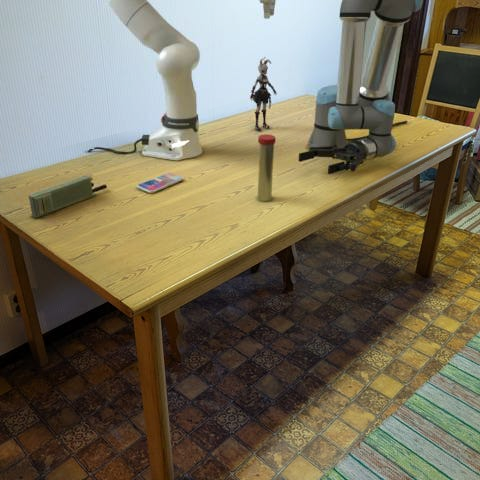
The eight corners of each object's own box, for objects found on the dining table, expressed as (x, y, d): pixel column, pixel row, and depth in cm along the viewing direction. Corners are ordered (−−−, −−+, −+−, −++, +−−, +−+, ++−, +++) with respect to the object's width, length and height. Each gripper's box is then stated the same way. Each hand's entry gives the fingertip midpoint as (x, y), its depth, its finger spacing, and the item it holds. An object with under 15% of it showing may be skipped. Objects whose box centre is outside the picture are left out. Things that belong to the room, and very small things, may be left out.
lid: (255, 140, 148) (256, 135, 148) (271, 139, 150) (272, 133, 149) (261, 145, 144) (261, 140, 143) (277, 144, 146) (278, 138, 145)
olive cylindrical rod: (255, 196, 157) (257, 136, 148) (268, 195, 158) (271, 135, 149) (260, 202, 153) (262, 141, 144) (273, 200, 155) (276, 140, 145)
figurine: (253, 133, 212) (255, 58, 197) (243, 130, 216) (244, 56, 201) (277, 126, 221) (281, 54, 206) (267, 123, 224) (270, 52, 210)
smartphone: (184, 177, 167) (150, 191, 157) (184, 180, 167) (151, 194, 157) (168, 171, 171) (134, 185, 161) (168, 174, 171) (135, 188, 161)
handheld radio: (30, 215, 144) (102, 188, 161) (37, 219, 142) (109, 191, 159) (26, 193, 140) (100, 168, 157) (33, 197, 138) (107, 171, 155)
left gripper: (265, -33, 165) (264, 13, 172) (255, -32, 148) (254, 20, 155) (284, -33, 164) (282, 14, 171) (276, -31, 147) (274, 20, 154)
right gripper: (386, 172, 166) (340, 186, 155) (332, 151, 184) (287, 163, 173) (389, 150, 162) (343, 163, 151) (334, 131, 180) (288, 142, 169)
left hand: (268, 16), depth 163 cm, fingers open, 8 cm apart
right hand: (313, 163), depth 162 cm, fingers open, 13 cm apart
